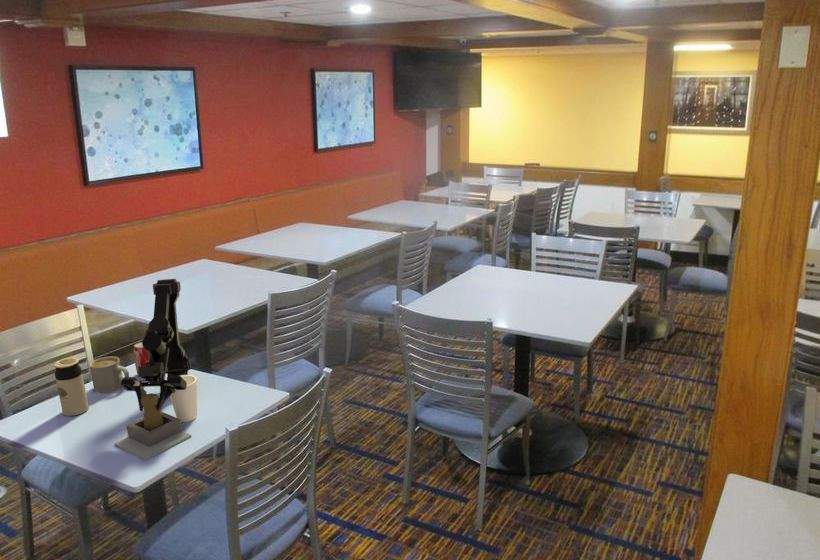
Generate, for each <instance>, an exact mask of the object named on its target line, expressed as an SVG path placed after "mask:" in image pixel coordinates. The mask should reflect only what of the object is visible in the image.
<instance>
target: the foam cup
mask: <svg viewBox="0 0 820 560" xmlns="http://www.w3.org/2000/svg"><path fill="white" fill-rule="evenodd" d="M181 377H182V378H183V379H184V380H185V381H186V383H187V386H186V389H185V390H176V389H175V392H174V393H172V394H171V395H170V396H169V398H170V401H171V404H172V407H173V411H174V414H175V417H176V418H178V419H180V420H181V423H187V422H188V423H189V422H191V421H194V420H195V419H196V418H197V417H198V387H199V385H198V378H197V376H196V375H193V374H188V375H181Z"/></svg>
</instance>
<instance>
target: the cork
mask: <svg viewBox="0 0 820 560" xmlns="http://www.w3.org/2000/svg"><path fill="white" fill-rule="evenodd" d="M158 400H159V395H158V394H157V393H154V392H153V393H146V395H144V396H143V397H142V399H141V404H142V406H143V407H144V408H143V417H144V429H145V430H148V431H151V430H154V429H156V428H158V427H160V426H162V425H164V422H163V418H162V415H161V412H160V411H161V409H160V410H159V411H158V410H157V405H158Z"/></svg>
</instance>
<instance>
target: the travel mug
mask: <svg viewBox="0 0 820 560" xmlns="http://www.w3.org/2000/svg"><path fill="white" fill-rule="evenodd" d="M79 362H80V359H79V358H78V357H66V358H62V359H59V360H57V361H56V362H54V363H53V367H55V372H54V377H55V383H56V386H57V391H58V392H57V393H58V396H59V401H60V406H61V412H62V414H63V415H64V416H69V417H74V416H78V415H82V414H83V413H85V412H87V411H88V410H89V407H90V406H89V402H88V401H89V400H88V395H87V391H86V386H85V385H86V384H85V381H84V376H83V370H82V367H81V366H80V365H79Z"/></svg>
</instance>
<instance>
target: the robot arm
mask: <svg viewBox="0 0 820 560" xmlns="http://www.w3.org/2000/svg"><path fill="white" fill-rule="evenodd" d="M181 288H182V287H181V281H177V279H176V278H168V279H166V278H164V279H158V280H157V281H156V282H155V283H153V284H152V292H153V295H154V309H153V318H152V319H151V320H150V321H149V322H148V327H147V329H146V331H145V334H144V337H143V339H142V341H141V342H142V345H143V347H144V349H145V350H146V352H147V353H148V355H149V360H148V362H146V365H145V366H138V374H137V377H138V378H137V377H135V376H129V377H125V376H123V379H122V380H121V386H122V388H123V389H124V390H126V391H127V392H135V394H136V397H137V402H138V408H139V411H140V412H143V411H144V407H143V406H142V404H141V399H142V397H143V396H144V395H146V394H148V392H147V390H146V389H145V387H148V388H149V387H159V389H160V390H159V395H158V397H159V400H158V405H157V410H158V411H159V410H160V411H161V409H162V407H164V404H165V403H166V402H167V400H168V399H169V398H170V395H171V394H172V393H174V392H175V389H176V390H185V389H186V386H187V383H186V381H185V380H184V379H183V378H182V377H181V375H189V373H188V372H189V371H190V370H192V367H191V366H192V365H191V361H190V359H189V357H188V355H187V354H186V350H185V349H184V347H183V346H182V345H181V344H180V337H179V335H180V334H179V325H178V324H179V323H178V315H177V306H176V304H177V301H178V300H179V297H180V292H181V290H182V289H181ZM166 375H167V376H166ZM139 377H140V378H141V379H143V380H139Z"/></svg>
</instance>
